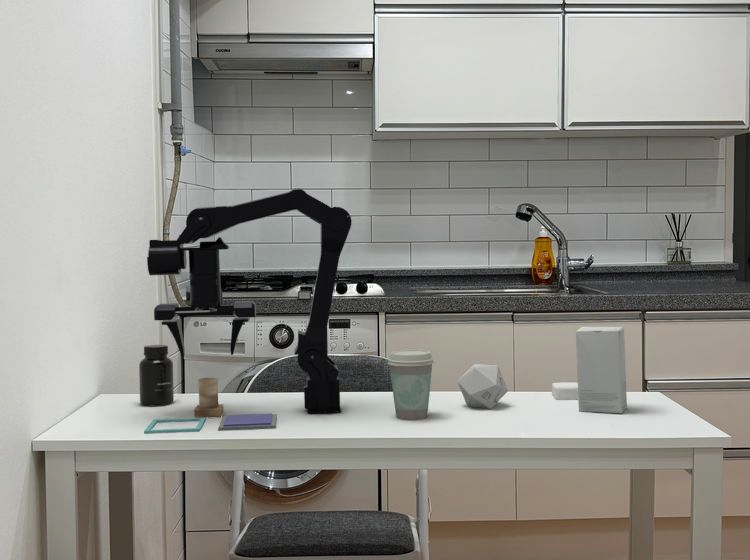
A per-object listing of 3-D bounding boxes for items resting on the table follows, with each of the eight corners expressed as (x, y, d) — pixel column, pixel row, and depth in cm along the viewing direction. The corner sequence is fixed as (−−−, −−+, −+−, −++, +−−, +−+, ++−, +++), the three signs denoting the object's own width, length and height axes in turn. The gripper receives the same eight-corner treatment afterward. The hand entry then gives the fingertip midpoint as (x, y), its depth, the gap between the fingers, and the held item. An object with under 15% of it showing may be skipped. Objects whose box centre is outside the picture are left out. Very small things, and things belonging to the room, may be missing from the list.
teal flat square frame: (205, 419, 157) (205, 417, 157) (200, 431, 147) (199, 428, 147) (153, 421, 156) (153, 419, 156) (144, 433, 146) (144, 431, 146)
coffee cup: (382, 420, 153) (380, 354, 152) (398, 410, 161) (396, 348, 160) (426, 422, 150) (425, 356, 149) (440, 413, 158) (439, 349, 157)
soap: (555, 401, 168) (555, 386, 168) (551, 396, 174) (551, 381, 174) (601, 401, 168) (601, 386, 168) (595, 395, 173) (595, 381, 173)
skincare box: (627, 408, 159) (626, 326, 158) (622, 415, 153) (621, 330, 152) (582, 405, 163) (582, 325, 162) (575, 411, 157) (575, 328, 156)
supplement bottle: (165, 407, 170) (163, 348, 169) (134, 406, 171) (132, 348, 170) (179, 400, 176) (177, 343, 176) (149, 400, 178) (147, 343, 177)
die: (472, 416, 158) (504, 374, 157) (441, 388, 164) (472, 347, 163) (492, 424, 165) (523, 383, 163) (462, 396, 170) (492, 357, 169)
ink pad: (276, 416, 158) (276, 412, 158) (275, 428, 148) (275, 423, 148) (223, 418, 157) (223, 414, 157) (218, 430, 147) (218, 426, 147)
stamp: (223, 412, 163) (222, 376, 163) (221, 417, 159) (220, 380, 158) (197, 413, 163) (196, 377, 163) (194, 418, 158) (193, 381, 158)
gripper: (256, 271, 168) (258, 348, 169) (161, 274, 167) (164, 352, 167) (253, 273, 157) (256, 355, 158) (152, 276, 156) (155, 359, 156)
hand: (207, 355), depth 160 cm, fingers open, 9 cm apart
